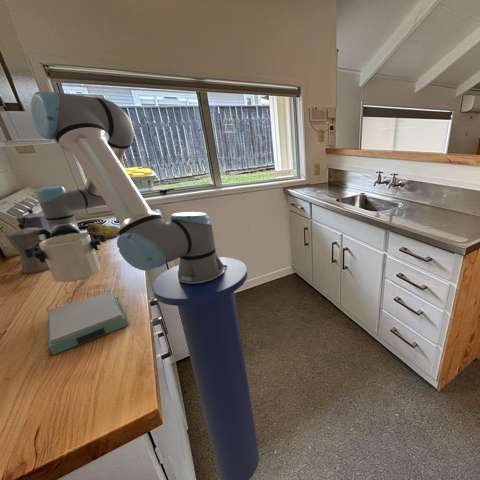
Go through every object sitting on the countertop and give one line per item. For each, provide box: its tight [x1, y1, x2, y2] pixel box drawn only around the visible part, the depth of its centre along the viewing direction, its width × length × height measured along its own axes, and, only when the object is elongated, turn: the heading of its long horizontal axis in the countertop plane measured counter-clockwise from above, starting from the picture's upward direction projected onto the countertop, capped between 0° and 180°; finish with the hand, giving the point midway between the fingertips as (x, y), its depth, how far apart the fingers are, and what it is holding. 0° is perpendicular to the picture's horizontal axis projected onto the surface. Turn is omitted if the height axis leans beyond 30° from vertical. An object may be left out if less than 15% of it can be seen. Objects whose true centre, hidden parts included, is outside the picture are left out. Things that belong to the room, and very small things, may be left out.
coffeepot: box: [4, 223, 51, 274], centre depth 97 cm, size 15×9×18 cm, turn 94°
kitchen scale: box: [47, 290, 128, 356], centre depth 67 cm, size 14×19×3 cm
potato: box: [86, 223, 120, 239], centre depth 131 cm, size 8×13×8 cm, turn 133°
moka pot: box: [15, 208, 51, 240], centre depth 109 cm, size 10×15×20 cm, turn 33°
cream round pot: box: [39, 232, 102, 283], centre depth 79 cm, size 11×11×12 cm
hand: (69, 251), depth 75 cm, fingers closed on cream round pot, 11 cm apart
